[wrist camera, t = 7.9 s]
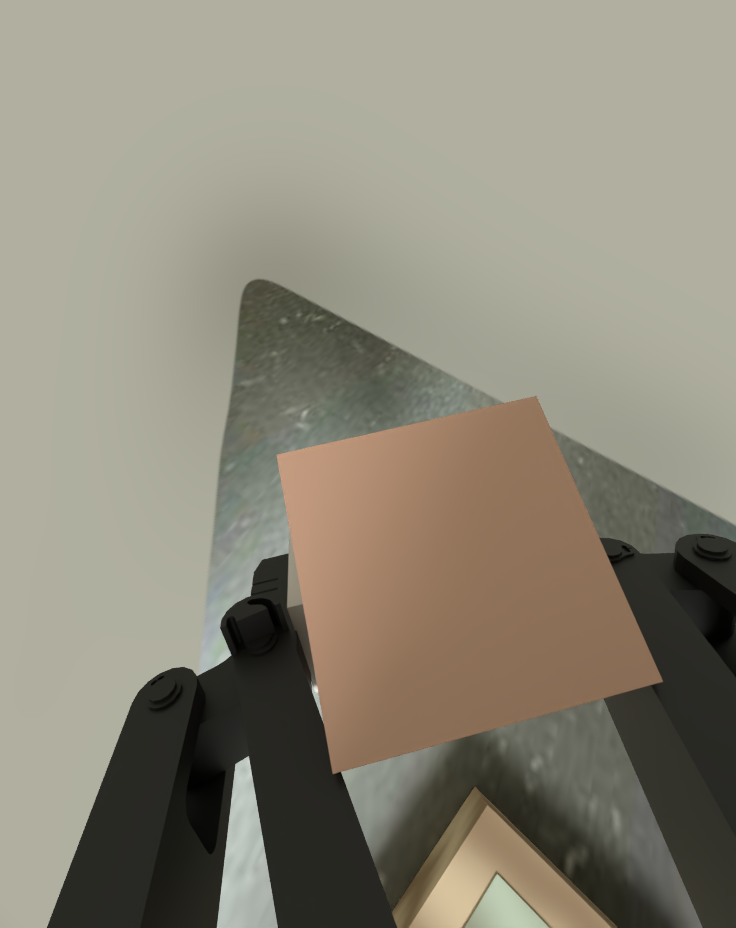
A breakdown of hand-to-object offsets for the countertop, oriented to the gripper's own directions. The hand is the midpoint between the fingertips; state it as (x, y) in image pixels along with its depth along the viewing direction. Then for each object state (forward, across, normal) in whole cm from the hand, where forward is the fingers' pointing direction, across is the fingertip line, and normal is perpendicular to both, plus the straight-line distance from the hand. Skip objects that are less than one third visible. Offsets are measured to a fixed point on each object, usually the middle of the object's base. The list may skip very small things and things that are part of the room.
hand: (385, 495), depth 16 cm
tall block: (0, 0, -5) cm, 5 cm away
